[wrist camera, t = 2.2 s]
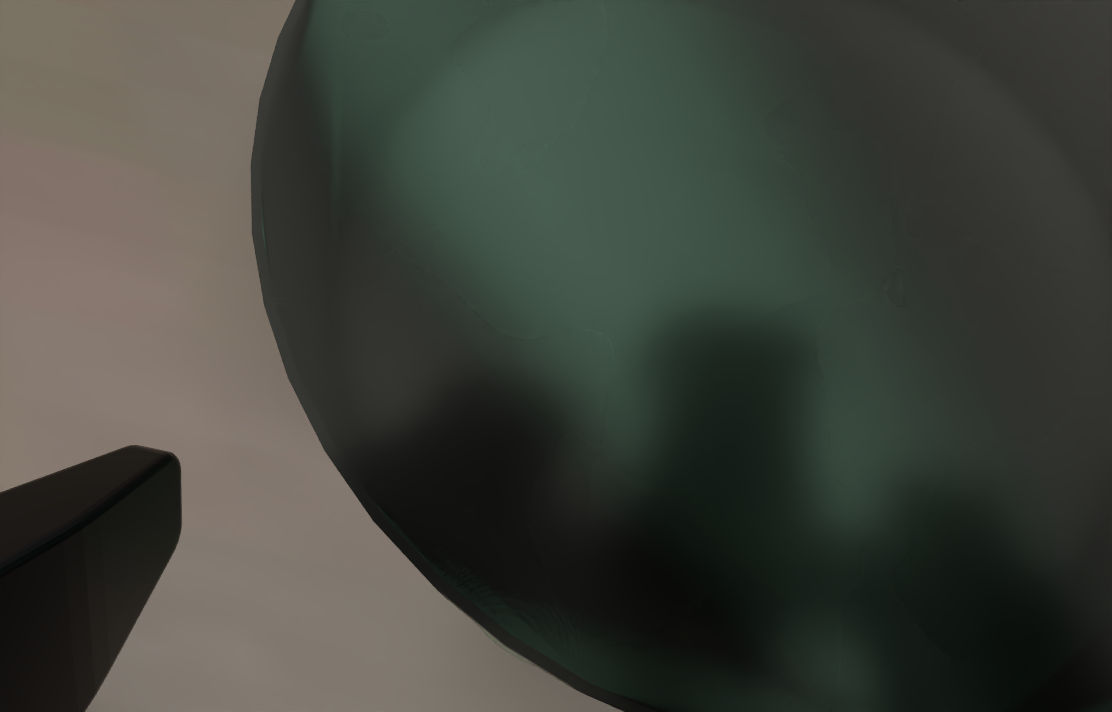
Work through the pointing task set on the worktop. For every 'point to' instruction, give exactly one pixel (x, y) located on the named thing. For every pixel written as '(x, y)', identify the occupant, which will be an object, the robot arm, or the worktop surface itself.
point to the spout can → (716, 333)
